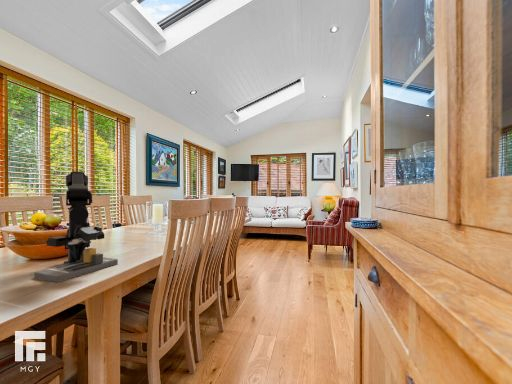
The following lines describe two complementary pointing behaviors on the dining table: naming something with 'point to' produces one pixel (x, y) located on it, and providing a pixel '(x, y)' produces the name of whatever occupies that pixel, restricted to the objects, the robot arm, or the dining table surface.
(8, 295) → the dining table surface
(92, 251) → the toggle
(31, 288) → the dining table surface
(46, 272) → the panel
